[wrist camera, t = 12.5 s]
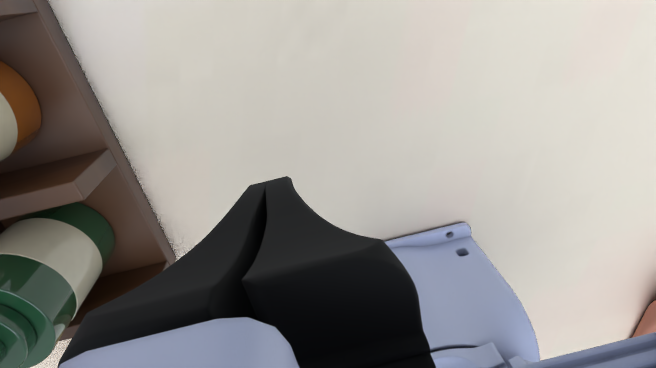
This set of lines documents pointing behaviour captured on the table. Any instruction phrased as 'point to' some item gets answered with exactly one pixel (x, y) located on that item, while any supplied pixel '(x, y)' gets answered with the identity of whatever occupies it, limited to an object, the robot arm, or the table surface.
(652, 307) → the brown block
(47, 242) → the dark green bottle
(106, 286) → the rack
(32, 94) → the amber bottle
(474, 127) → the table surface
